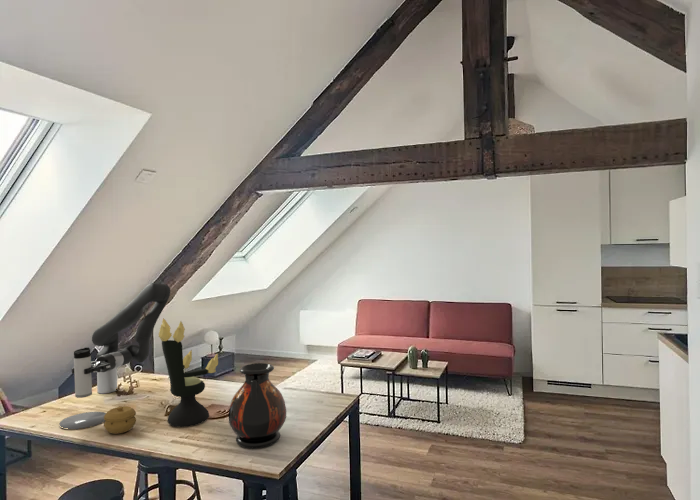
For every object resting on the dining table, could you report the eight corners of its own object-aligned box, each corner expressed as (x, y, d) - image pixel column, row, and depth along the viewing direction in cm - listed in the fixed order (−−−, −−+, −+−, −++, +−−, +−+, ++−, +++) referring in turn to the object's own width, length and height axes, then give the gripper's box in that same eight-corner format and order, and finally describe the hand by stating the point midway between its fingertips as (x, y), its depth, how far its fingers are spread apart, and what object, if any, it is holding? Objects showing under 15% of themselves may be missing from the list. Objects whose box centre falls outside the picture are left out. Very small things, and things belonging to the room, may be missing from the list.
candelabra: (221, 417, 198) (219, 313, 198) (178, 436, 179) (176, 321, 179) (191, 410, 208) (189, 311, 207) (147, 427, 189) (145, 318, 188)
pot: (97, 436, 181) (96, 411, 181) (116, 425, 192) (116, 401, 192) (124, 437, 179) (124, 412, 179) (142, 426, 191) (141, 402, 191)
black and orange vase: (234, 430, 184) (233, 360, 184) (288, 428, 185) (287, 359, 185) (223, 454, 162) (221, 375, 162) (284, 451, 164) (283, 373, 164)
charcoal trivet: (59, 419, 200) (59, 417, 200) (106, 411, 209) (106, 408, 209) (59, 433, 185) (59, 430, 185) (109, 423, 194) (109, 421, 194)
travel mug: (95, 392, 200) (94, 347, 200) (85, 398, 193) (83, 350, 193) (82, 392, 201) (80, 347, 200) (71, 398, 194) (70, 350, 194)
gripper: (97, 352, 213) (65, 361, 197) (122, 354, 208) (91, 363, 192) (98, 368, 213) (65, 379, 197) (122, 370, 208) (91, 381, 192)
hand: (78, 371), depth 195 cm, fingers closed on travel mug, 6 cm apart
